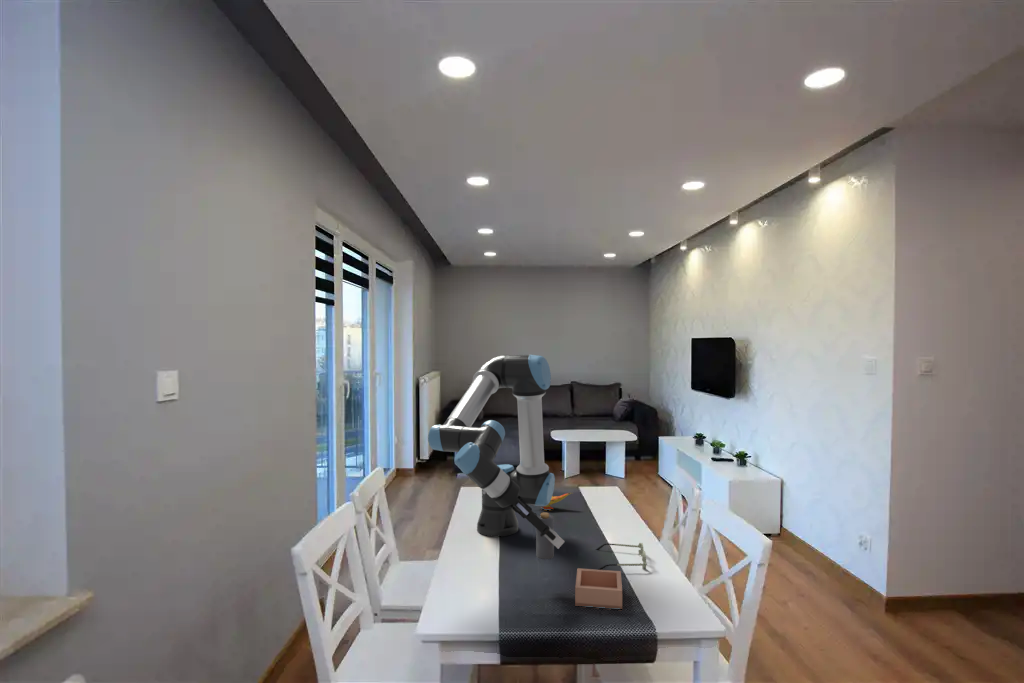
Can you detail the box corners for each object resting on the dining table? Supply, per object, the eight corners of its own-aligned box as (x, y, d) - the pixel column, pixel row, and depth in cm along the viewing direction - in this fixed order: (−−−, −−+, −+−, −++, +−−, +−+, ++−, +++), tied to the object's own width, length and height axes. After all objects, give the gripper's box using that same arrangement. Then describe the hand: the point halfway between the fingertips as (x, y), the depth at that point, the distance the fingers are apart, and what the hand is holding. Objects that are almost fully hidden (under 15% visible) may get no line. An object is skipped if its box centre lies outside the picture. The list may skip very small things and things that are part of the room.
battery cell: (535, 558, 151) (535, 516, 151) (537, 551, 156) (537, 510, 155) (553, 560, 150) (552, 517, 150) (554, 552, 155) (554, 511, 155)
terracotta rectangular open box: (575, 606, 141) (575, 587, 141) (577, 585, 152) (577, 568, 152) (622, 610, 139) (622, 590, 139) (620, 589, 150) (620, 571, 150)
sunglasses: (647, 575, 160) (647, 558, 160) (595, 572, 162) (595, 555, 162) (641, 553, 177) (641, 537, 177) (594, 550, 179) (594, 535, 179)
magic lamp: (573, 511, 219) (573, 484, 218) (529, 510, 220) (528, 483, 220) (573, 506, 225) (573, 480, 225) (529, 505, 227) (529, 479, 227)
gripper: (484, 489, 157) (538, 539, 162) (499, 508, 140) (559, 564, 144) (502, 470, 158) (555, 520, 163) (519, 486, 141) (578, 542, 146)
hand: (557, 540), depth 154 cm, fingers closed on battery cell, 5 cm apart
